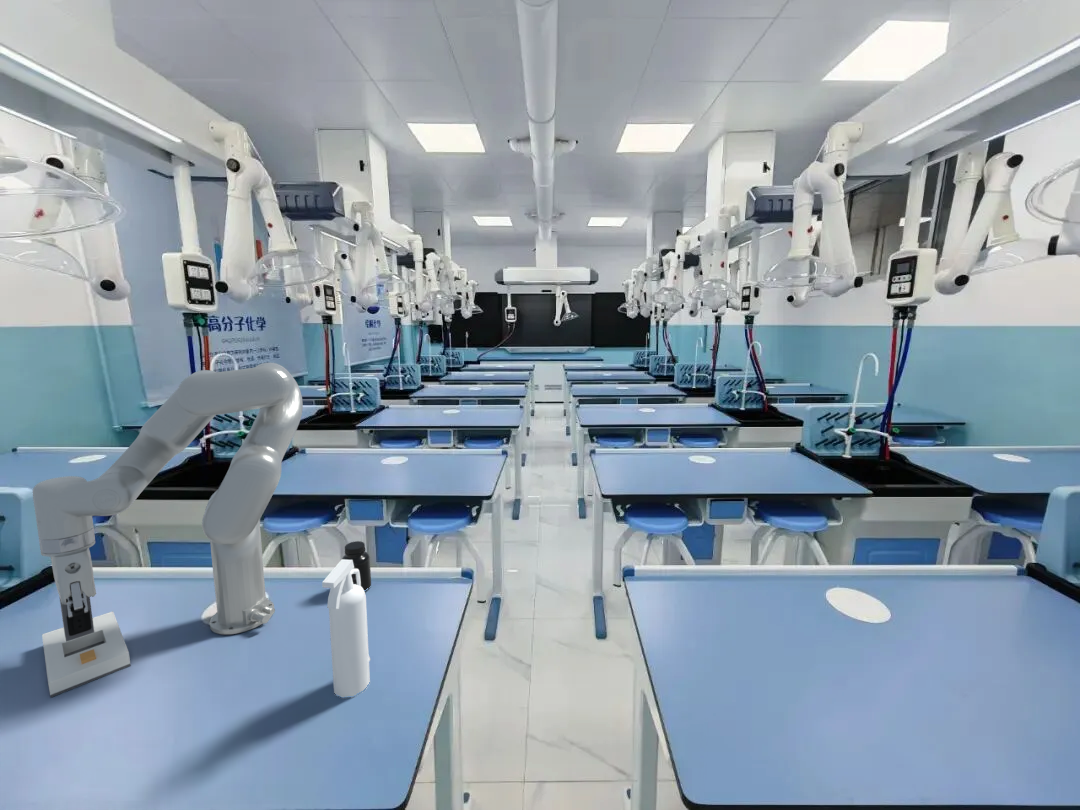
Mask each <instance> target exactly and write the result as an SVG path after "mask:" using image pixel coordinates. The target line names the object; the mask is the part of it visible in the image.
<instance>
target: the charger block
mask: <svg viewBox="0 0 1080 810" xmlns="http://www.w3.org/2000/svg"><path fill="white" fill-rule="evenodd" d="M81 597H83V595H81ZM86 598H87V599H86V600H87V607H88V610H89V611H90V619H91V626H92V628H91V629H90V630H88V631H85V632H82V633H79V634H76V635H73V636H69V632H68V625H67V616H68V610H67V604H66V605H65V604H62V602H61V599H60V597H59V604H60V609H61V610H60V611H61V618H62V619H61V620H62V624H63V625H62V626H63V627H64V633H65V638H66V642H67V641H70V640H73V639H76V638H79V637H82V636H85V635H88V634H91V633H94V626H93V618H94V617H93V613H92V604H91V597H88V596H87V595H86ZM69 600H72V598H69ZM82 603H83V601H82ZM72 607H73V604H71V608H72ZM63 627H62V628H63Z"/></svg>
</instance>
